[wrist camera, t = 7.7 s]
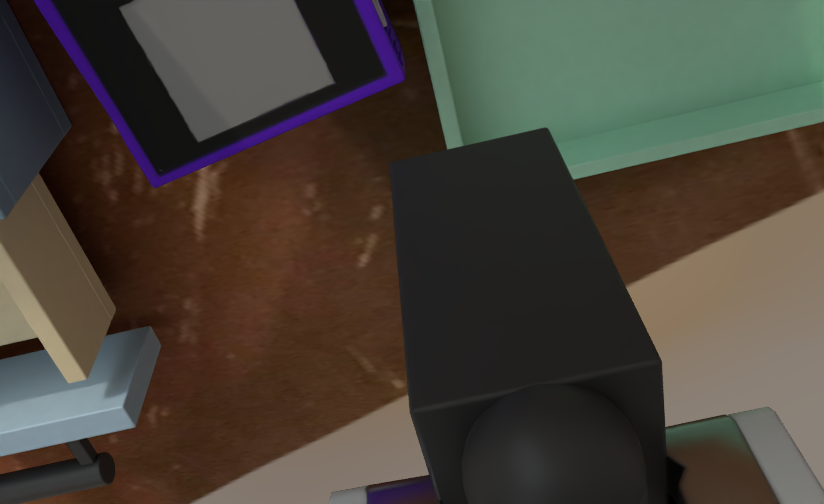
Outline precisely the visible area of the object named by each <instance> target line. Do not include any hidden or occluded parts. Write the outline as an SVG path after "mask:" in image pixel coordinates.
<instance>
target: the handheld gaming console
mask: <svg viewBox="0 0 824 504" xmlns="http://www.w3.org/2000/svg"><path fill="white" fill-rule="evenodd" d="M34 2H35V4H36V5H37V7H38V8H39V10H40V11H41V13H42V15H43V16H44V18H45V19H46V21H47V22H48V24H49V25H50V27H51V29H52V30H53V32H54V33H55V35H56V36H57V38H58V39H59V41H60V42H61V44H62V45H63V47H64V48H65V50H66V51H67V53H68V54H69V56H70V57H71V59H72V60H73V62H74V63H75V65H76V67H77V68H78V69H79V71H80V72H81V74H82V75H83V77H84V78H85V80H86V81H87V82H88V84H89V85H90V87H91V88H92V90H93V91H94V93H95V94H96V96H97V98H98V99H99V101H100V102H101V104H102V105H103V107H104V109H105V110H106V112H107V113H108V115H109V116H110V118H111V120H112V121H113V123H114V124H115V126H116V127H117V129H118V131H119V133H120V134H121V136H122V138H123V140H124V141H125V143H126V145H127V147H128V149H129V150H130V152H131V153H132V155H133V157H134V158H135V160H136V161H137V163H138V165H139V166H140V168H141V169H142V171H143V172H144V174H145V176H146V177H147V179H148V180H149V182H150V184H151V185H152V186H153V188H157V187H159V186H162V185H164V184H166V183H169V182H171V181H173V180H176V179H178V178H180V177H183V176H185V175H187V174H190V173H192V172H194V171H196V170H199V169H201V168H203V167H206V166H208V165H210V164H213V163H215V162H217V161H220V160H222V159H224V158H227V157H229V156H231V155H234V154H236V153H238V152H241V151H243V150H245V149H247V148H250V147H252V146H254V145H257V144H259V143H261V142H264V141H266V140H268V139H271V138H273V137H275V136H278V135H280V134H282V133H285V132H287V131H289V130H292V129H294V128H296V127H298V126H301V125H303V124H305V123H308V122H310V121H312V120H315V119H317V118H319V117H322V116H324V115H326V114H329V113H331V112H333V111H336V110H338V109H340V108H342V107H345V106H347V105H349V104H352V103H354V102H356V101H359V100H361V99H363V98H366V97H368V96H370V95H373V94H375V93H377V92H380V91H382V90H384V89H387V88H389V87H391V86H393V85H396V84H398V83H400V82H403V81H404V80H405V60H404V55H403V51H402V48H401V45H400V43H399V40H398V38H397V35H396V33H395V31H394V28H393V26H392V24H391V21H390V19H389V17H388V14H387V12H386V10H385V8H384V5H383V3H382V0H34Z"/></svg>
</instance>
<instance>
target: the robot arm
mask: <svg viewBox="0 0 824 504" xmlns="http://www.w3.org/2000/svg"><path fill="white" fill-rule="evenodd" d="M665 432H666V451H667V452H666V477H667V491H668V493H669V504H824V489H823V488H822V486H821V484H820V483H819V481H818V480H817V478H816V476H815V475H814V473H813V472H812V470H811V468H810V467H809V465H808V463H807V462H806V460H805V459H804V457H803V456H802V454H801V452H800V451H799V449H798V448H797V446H796V444H795V443H794V441H793V439H792V438H791V436H790V435H789V433H788V431H787V430H786V428H785V427H784V425H783V423H782V422H781V420H780V419H779V417H778V415H777V414H776V412H774V411H773V410H772V409H771V408H769V407H765V408H759V409H755V410H749V411H744V412H739V413H734V414H729V415H728V416H727V415H720V416H715V417H711V418H706V419H701V420H696V421H692V422H687V423H682V424H678V425H673V426H668V427H665ZM328 504H443V502H442V500H438V499H437V497H436V494H435V491H434V488H433V485H432V481H431V478H430V475H426V476H420V477H414V478H408V479H402V480H397V481H391V482H385V483H379V484H373V485H368V486H363V487H357V488H352V489H346V490H341V491H336V492H332V493H331V497H330V500H329V503H328Z"/></svg>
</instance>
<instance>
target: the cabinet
mask: <svg viewBox="0 0 824 504" xmlns="http://www.w3.org/2000/svg"><path fill="white" fill-rule="evenodd" d="M71 127H72V124H71V123H70V121H69V119H68V117H67V115H66V113H65V111H64V109H63V107H62V105H61V103H60V101H59V100H58V98H57V96H56V94H55V92H54V90H53V88H52V86H51V84H50V82H49V80H48V79H47V77H46V75H45V73H44V71H43V69H42V67H41V65H40V63H39V61H38V59H37V57H36V56H35V54H34V52H33V50H32V48H31V46H30V44H29V42H28V40H27V38H26V36H25V35H24V33H23V31H22V29H21V27H20V25H19V23H18V21H17V19H16V17H15V15H14V13H13V12H12V10H11V8H10V6H9V4H8V2H7V0H0V220H3V219H5V218H7V216H8V215H9V213H10V212H11V210H12V209H13V208H14V206H15V204H16V203H17V202H18V201H19V199H20V198H21V197H22V195H23V194H24V192H25V191H26V190H27V188H28V187H29V185H30V184H31V182H32V181H33V180H34V178H35V177H36V175H37V174H38V173H39V171H40V170H41V168H42V167H43V166H44V164H45V163H46V161H47V160H48V159H49V157H50V156H51V154H52V153H53V152H54V150H55V149H56V147H57V146H58V145H59V143H60V142H61V140H62V139H63V138H64V136H65V135H66V134H67V132H68V131H69V130H70V128H71Z"/></svg>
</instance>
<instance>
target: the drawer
mask: <svg viewBox="0 0 824 504" xmlns="http://www.w3.org/2000/svg"><path fill="white" fill-rule="evenodd" d="M115 311H116V307H115V306H114V304H113V302H112V300H111V299H110V297H109V295H108V293H107V292H106V290H105V288H104V286H103V285H102V283H101V281H100V279H99V278H98V276H97V274H96V272H95V271H94V269H93V267H92V265H91V264H90V262H89V260H88V258H87V257H86V255H85V253H84V251H83V250H82V248H81V246H80V244H79V243H78V241H77V239H76V237H75V236H74V234H73V232H72V230H71V228H70V227H69V225H68V223H67V221H66V220H65V218H64V216H63V214H62V213H61V211H60V209H59V207H58V206H57V204H56V202H55V200H54V199H53V197H52V195H51V193H50V192H49V190H48V188H47V186H46V185H45V183H44V181H43V179H42V178H41V176H40V174H39V173H38V174H37V175H36V177H35V178H34V180H33V181H32V182H31V184H30V185H29V187H28V188H27V190H26V191H25V192H24V194H23V195H22V197H21V198H20V199H19V201H18V202H17V203H16V204H15V206H14V208H13V209H12V210H11V212H10V213H9V215H8V216H7V218H5V219H3V220H0V346H2V345H6V344H11V343H15V342H20V341H24V340H28V339H33V338H37V337H38V338H39V340H40V341H41V343H42V344H43V346H44V347H45V350H40V351H36V352H32V353H27V354H23V355H18V356H14V357H9V358H5V359H1V360H0V457H1V456H5V455H10V454H15V453H19V452H24V451H28V450H33V449H38V448H42V447H47V446H52V445H56V444H61V443H66V445H67V446H68V448H69V449H70V450H71V452H72V453H73V455H74V456H75V457H76V458H74V459H70V460H65V461H60V462H56V463H51V464H46V465H41V466H37V467H32V468H27V469H23V470H18V471H13V472H9V473H4V474H0V504H19V503H24V502H29V501H34V500H38V499H43V498H48V497H53V496H57V495H62V494H67V493H72V492H76V491H81V490H86V489H91V488H95V487H100V486H105V485H109V484H111V483H112V482H113V480H114V477H115V464H114V460H113V458H112V456H111V455H110V454H109V453H107V452H102V453H98V454H97V452H96V451H95V449H94V448H93V446H92V445H91V443H90V442H89V440H88V439H87V438H89V437H93V436H98V435H103V434H107V433H112V432H117V431H121V430H126V429H130V428H135V427H136V424H137V421H138V418H139V415H140V412H141V409H142V405H143V402H144V399H145V396H146V393H147V389H148V386H149V383H150V380H151V377H152V374H153V370H154V367H155V364H156V361H157V358H158V355H159V351H160V348H161V344H160V342H159V340H158V338H157V337H156V335H155V333H154V331H153V329H152V327H151V326H147V327H142V328H138V329H133V330H129V331H124V332H120V333H116V334H111V335H107V336H105V335H106V333H107V330H108V328H109V326H110V323H111V320H112V319H113V316H114V314H115Z"/></svg>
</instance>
